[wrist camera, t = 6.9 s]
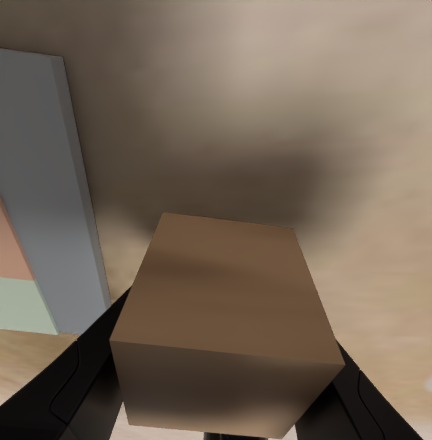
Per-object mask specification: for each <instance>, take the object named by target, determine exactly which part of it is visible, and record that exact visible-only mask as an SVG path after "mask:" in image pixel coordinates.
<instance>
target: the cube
mask: <svg viewBox="0 0 432 440" xmlns="http://www.w3.org/2000/svg"><path fill="white" fill-rule="evenodd" d="M109 342H110V346H111V350H112V354H113V359H114V363H115V367H116V372H117V376H118V380H119V384H120V389H121V393H122V397H123V402H124V406H125V410H126V414H127V419H128V423H129V425H135V426H146V427H157V428H167V429H178V430H189V431H200V432H211V433H221V434H232V435H243V436H254V437H265V438H275V439H282V438H283V437H284V436H285V435H286V434H287V432H288V431H289V430H290V429H291V428H292V427H293V425H294V424H295V423H296V422H297V421H298V420H299V418H300V417H301V416H302V415H303V414H304V413H305V411H306V410H307V409H308V408H309V407H310V406H311V404H312V403H313V402H314V401H315V400H316V399H317V397H318V396H319V395H320V394H321V393H322V392H323V390H324V389H325V388H326V387H327V386H328V385H329V384H330V382H331V381H332V380H333V379H334V378H335V377H336V375H337V374H338V373H339V372H340V371H341V370H342V368H343V367H344V366H345V362H344V360H343V357H342V355H341V352H340V349H339V347H338V344H337V342H336V339H335V336H334V334H333V331H332V329H331V326H330V323H329V321H328V318H327V316H326V313H325V311H324V308H323V305H322V303H321V300H320V298H319V295H318V292H317V290H316V287H315V285H314V282H313V279H312V277H311V274H310V272H309V269H308V266H307V264H306V261H305V259H304V256H303V253H302V251H301V248H300V246H299V243H298V241H297V238H296V235H295V233H294V230H293V228H288V227H280V226H272V225H264V224H256V223H248V222H239V221H231V220H223V219H215V218H207V217H199V216H191V215H182V214H174V213H166V212H163V214H162V216H161V218H160V221H159V223H158V226H157V228H156V230H155V233H154V235H153V237H152V240H151V242H150V245H149V247H148V249H147V252H146V254H145V256H144V259H143V261H142V264H141V266H140V268H139V271H138V273H137V275H136V278H135V280H134V283H133V285H132V287H131V290H130V292H129V294H128V297H127V299H126V302H125V304H124V306H123V309H122V311H121V314H120V316H119V318H118V321H117V323H116V325H115V328H114V330H113V333H112V335H111V337H110V340H109Z"/></svg>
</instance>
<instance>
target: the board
mask: <svg viewBox="0 0 432 440" xmlns="http://www.w3.org/2000/svg"><path fill="white" fill-rule="evenodd" d="M111 305H112V304H111V299H110V294H109V289H108V284H107V279H106V274H105V269H104V264H103V259H102V254H101V249H100V244H99V239H98V234H97V229H96V223H95V218H94V213H93V208H92V203H91V198H90V193H89V188H88V183H87V178H86V173H85V168H84V163H83V158H82V153H81V148H80V142H79V137H78V132H77V127H76V122H75V117H74V112H73V107H72V102H71V97H70V92H69V87H68V82H67V77H66V72H65V67H64V61H63V57H60V56H53V55H46V54H39V53H32V52H25V51H18V50H11V49H4V48H0V329H5V330H15V331H25V332H35V333H44V334H54V335H58V334H59V332H60V333H70V334H80V335H82V334H83V333H84V332H85V331H86V330H87V329H88V328H89V327H90V326H91V325H92V324H93V323H94V322H95V321H96V320H97V319H98V318H99V317H100V316H101V315H102V314H103V313H104V312H105V311H106V310H107V309H108V308H109V307H110V306H111Z"/></svg>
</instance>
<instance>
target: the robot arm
mask: <svg viewBox="0 0 432 440" xmlns="http://www.w3.org/2000/svg"><path fill="white" fill-rule="evenodd" d="M131 287H132V286H131ZM131 287H130V288H129V289H128V290H127V291H126V292H125V293H124V294H123V295H122V296H121V297H120V298H119V299H117V300H116V301H115V302H114V303H113V304H112V305H111V306H110V307H109V308H108V309H107V310H106V311H105V312H104V313H103V314H102V315H101V316H100V317H99V318H98V319H97V320H96V321H95V322H94V323H93V324H92V325H91V326H90V327H89V328H88V329H87V330H86V331H85V332H84V333H83V334H82V335H80V336H79V337H78V338H77V341H74V342H73V343H72V344H71V345H70V346H69V347H68V348H67V349H66V350H65V351H64V352H63V353H62V354H61V355H60V356H58V357H57V358H56V359H55V360H54V361H53V362H52V363H51V364H50V365H49V366H47V367H46V368H45V369H44V370H43V371H42V372H40V373H39V374H38V375H37V376H36V377H35V378H33V379H32V380H31V381H30V382H29V383H27V384H26V385H25V386H24V387H23V388H21V389H20V390H19V391H18V392H17V393H15V394H14V395H13V396H12V397H11V398H9V399H8V400H7V401H6V402H4V403H3V404H2V405H1V406H0V440H109V439H110V436H111V433H112V430H113V427H114V425H115V422H116V419H117V416H118V413H119V410H120V408H121V405H122V402H123V397H122V393H121V389H120V384H119V380H118V376H117V372H116V367H115V363H114V359H113V354H112V350H111V346H110V342H109V340H110V337H111V335H112V333H113V330H114V328H115V325H116V323H117V321H118V318H119V316H120V314H121V311H122V309H123V306H124V304H125V302H126V299H127V297H128V294H129V292H130V290H131ZM336 342H337V344H338V347H339V349H340V352H341V355H342V357H343V360H344V362H345V366H344V367H343V368H342V370H341V371H340V372H339V373H338V374H337V375H336V377H335V378H334V379H333V380H332V381H331V382H330V384H329V385H328V386H327V387H326V388H325V389H324V390H323V392H322V393H321V394H320V395H319V396H318V397H317V399H316V400H315V401H314V402H313V403H312V404H311V406H310V407H309V408H308V409H307V410H306V411H305V413H304V414H303V415H302V416H301V417H300V418H299V420H298V421H297V422H296V423H295V428H296V433H297V439H298V440H423V439H422V438H421V437H420V436H419V434H418V433H417V432H416V431H415V430H414V429H413V428H412V427H411V426H410V425H409V424H408V423H407V422H406V421H405V420H404V418H403V417H402V416H401V415H400V414H399V413H398V412H397V411H396V410H395V409H394V408H393V407H392V405H391V404H390V403H389V402H388V401H387V400H386V399H385V398H384V397H383V395H382V394H381V393H380V392H379V391H378V390H377V388H376V387H375V386H374V385H373V384H372V382H371V381H370V380H369V379H368V378H367V376H366V375H365V374H364V373H363V372H362V371H361V370H360V368H359V367H358V366H357V364H356V363H355V362H354V361H353V359H352V358H351V357H350V356H349V355H348V353H347V352H346V351H345V350H344V349H343V347H342V346H341V345H340V344H339V342H338V341H337V340H336ZM204 440H268V438H265V437H254V436H243V435H232V434H221V433H211V432H204Z"/></svg>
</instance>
